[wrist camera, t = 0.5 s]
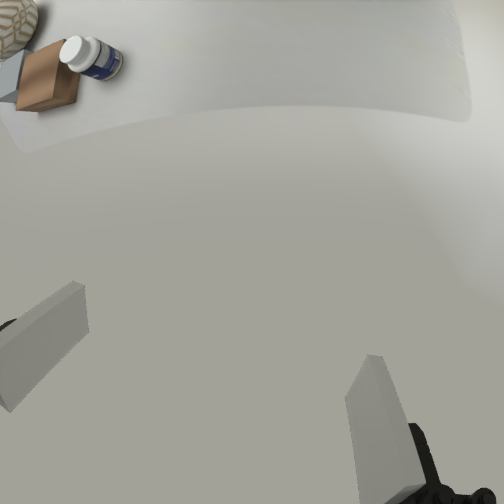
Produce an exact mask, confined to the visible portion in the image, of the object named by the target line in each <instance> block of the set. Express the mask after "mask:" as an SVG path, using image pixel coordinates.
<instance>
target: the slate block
mask: <svg viewBox="0 0 504 504" xmlns="http://www.w3.org/2000/svg"><path fill="white" fill-rule="evenodd" d="M32 53H34V52H32V51H28V50H25V49H24V50H22V51H20V52H19V53H17V54H15V55H14V56H12V57H10V58H9V59H7V60H6V61H4V62H3V63H1V67H0V102H8V103H16V102H17V98H18V92H19V86H20V80H21V75H22V71H23V66H24V62H25V57H26V56H28V55H30V54H32Z"/></svg>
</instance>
